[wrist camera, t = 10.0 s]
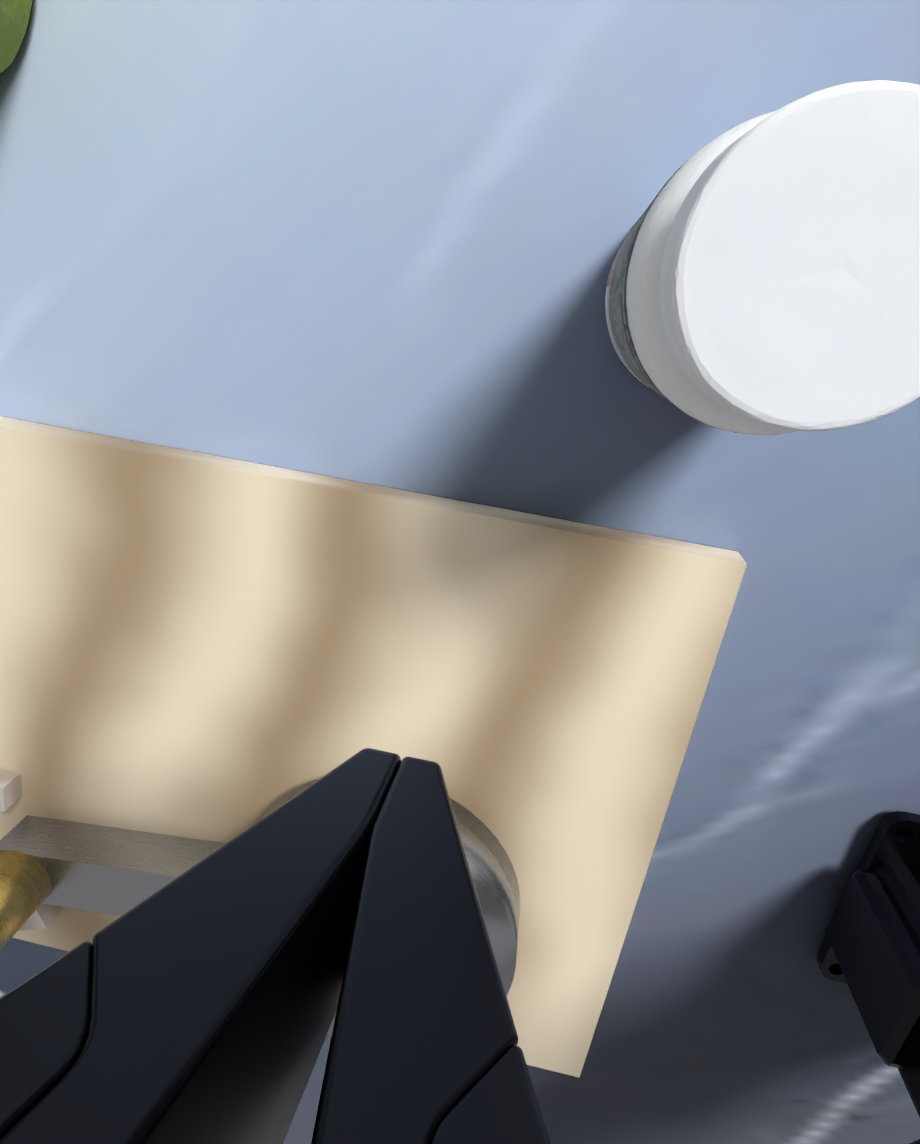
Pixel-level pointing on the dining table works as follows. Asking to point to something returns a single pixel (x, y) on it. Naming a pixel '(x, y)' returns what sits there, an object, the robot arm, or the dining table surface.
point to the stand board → (350, 674)
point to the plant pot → (12, 28)
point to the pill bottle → (783, 269)
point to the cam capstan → (150, 861)
